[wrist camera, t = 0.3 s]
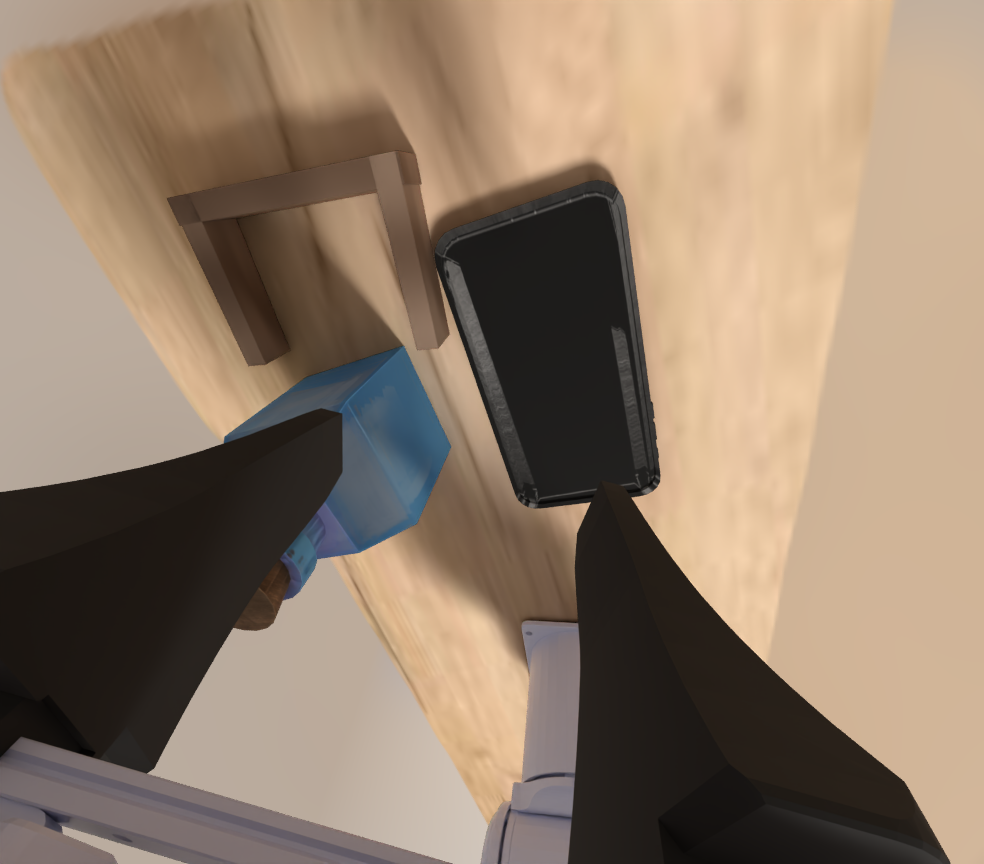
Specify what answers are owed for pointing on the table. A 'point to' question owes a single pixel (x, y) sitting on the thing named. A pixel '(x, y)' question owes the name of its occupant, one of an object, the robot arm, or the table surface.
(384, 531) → the perfume bottle
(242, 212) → the bracket
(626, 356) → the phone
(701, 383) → the table surface
